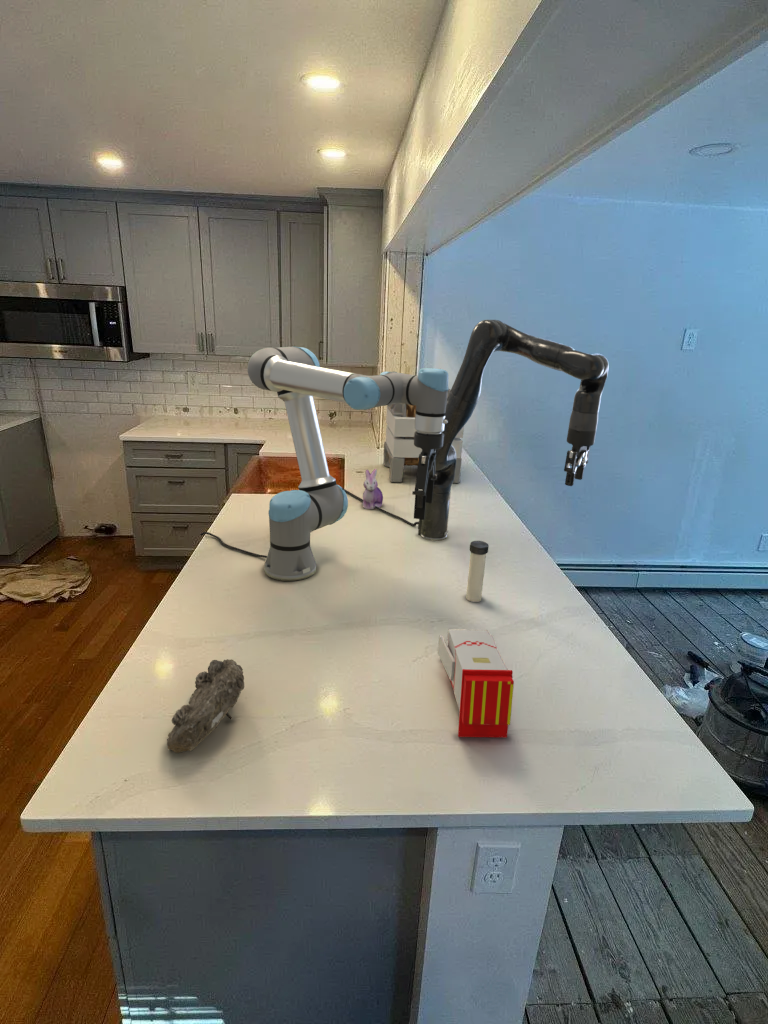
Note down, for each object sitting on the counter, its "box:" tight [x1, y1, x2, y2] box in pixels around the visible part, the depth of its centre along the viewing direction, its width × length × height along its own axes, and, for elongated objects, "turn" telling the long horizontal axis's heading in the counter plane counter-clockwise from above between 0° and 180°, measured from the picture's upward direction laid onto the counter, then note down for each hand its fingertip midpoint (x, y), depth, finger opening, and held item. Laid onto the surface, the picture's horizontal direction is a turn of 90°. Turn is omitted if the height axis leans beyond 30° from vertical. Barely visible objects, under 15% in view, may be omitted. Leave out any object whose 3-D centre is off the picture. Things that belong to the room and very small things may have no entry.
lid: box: [468, 540, 490, 555], centre depth 152 cm, size 5×5×2 cm
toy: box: [437, 628, 515, 738], centre depth 117 cm, size 12×13×30 cm
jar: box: [465, 552, 487, 603], centre depth 155 cm, size 4×4×16 cm
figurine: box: [361, 468, 384, 510], centre depth 224 cm, size 9×10×15 cm
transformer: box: [383, 388, 465, 484], centre depth 268 cm, size 34×33×41 cm
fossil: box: [166, 658, 245, 754], centre depth 106 cm, size 22×10×15 cm
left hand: (423, 510), depth 151 cm, fingers open, 13 cm apart
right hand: (573, 482), depth 165 cm, fingers open, 8 cm apart
